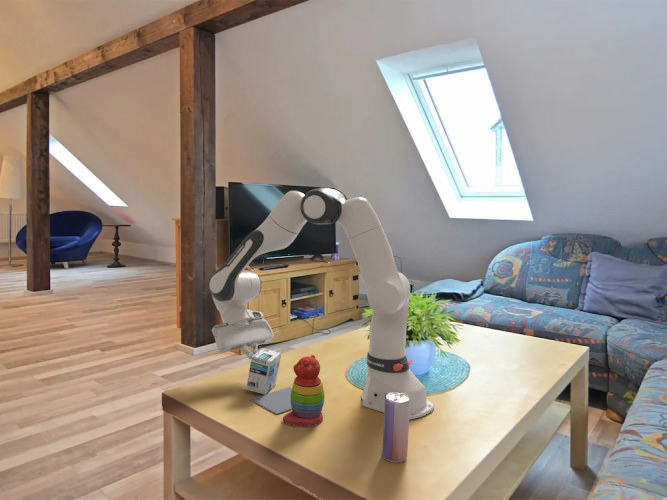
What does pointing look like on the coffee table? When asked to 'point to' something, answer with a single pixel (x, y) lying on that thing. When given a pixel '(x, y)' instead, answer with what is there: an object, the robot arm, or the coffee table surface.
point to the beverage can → (396, 427)
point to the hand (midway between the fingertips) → (254, 357)
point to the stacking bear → (306, 394)
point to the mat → (275, 401)
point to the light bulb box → (263, 371)
